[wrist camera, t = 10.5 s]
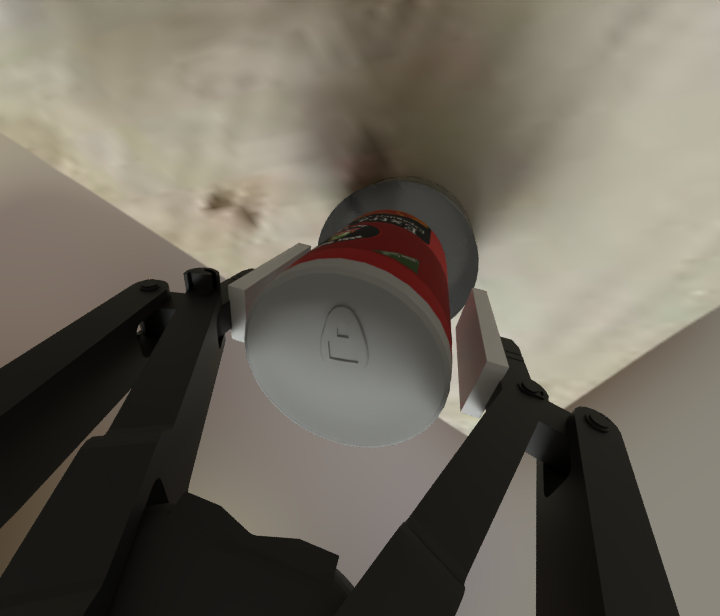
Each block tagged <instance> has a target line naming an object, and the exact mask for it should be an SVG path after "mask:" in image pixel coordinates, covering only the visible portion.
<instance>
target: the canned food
mask: <svg viewBox="0 0 720 616" xmlns="http://www.w3.org/2000/svg"><path fill="white" fill-rule="evenodd" d="M244 341H245V349H246V356H247V359H248V362H249V365H250V368H251V371H252V373H253V375H254V377H255V379H256V381H257V383H258V384H259V386H260V388H261V389H262V390H263V392H264V393H265V395H266V396H267V397H268V399H269V400H270V401H271V402H272V403H273V404H274V405H275V406H276V407H277V408H278V409H279V410H280V411H281V412H282V413H283V414H284V415H285V416H287V417H288V418H289V419H290V420H292V421H293V422H294V423H296V424H297V425H299V426H301V427H302V428H304V429H306V430H307V431H309V432H311V433H313V434H315V435H317V436H320V437H322V438H324V439H327V440H330V441H333V442H337V443H340V444H344V445H350V446H356V447H383V446H389V445H395V444H398V443H401V442H404V441H407V440H409V439H411V438H413V437H414V436H416V435H418V434H420V433H422V432H423V431H424V430H425V429H426V428H428V427H429V426H430V425H431V424H432V423H433V422H434V421H435V420H436V418H437V417H438V415H439V414H440V412H441V411H442V409H443V408H444V406H445V403H446V400H447V397H448V394H449V391H450V381H451V374H452V335H451V320H450V306H449V291H448V276H447V264H446V258H445V253H444V250H443V248H442V245H441V243H440V241H439V239H438V238H437V236H436V235H435V233H434V232H433V231H432V230H431V229H430V228H429V227H428V226H427V225H426V224H425V223H424V222H423V221H421V220H420V219H418V218H416V217H415V216H413V215H410V214H408V213H405V212H403V211H397V210H391V209H387V210H376V211H372V212H369V213H366V214H364V215H362V216H360V217H358V218H356V219H355V220H353V221H352V222H350V223H349V224H348V225H346V226H345V227H343V228H342V229H341V230H339V231H338V232H336V233H335V234H333V235H332V236H331V237H329V238H328V239H326V240H325V241H324V242H322V243H321V244H319V245H318V246H317V247H315V248H314V249H312V250H311V251H310V252H308V253H307V254H305V255H304V256H302V257H301V258H300V259H298V260H297V261H295V262H294V263H293V264H292V265H291V266H290V267H288V268H287V269H286V270H284V271H283V272H281V273H280V274H279V275H278V276H277V277H276V278H275V279H274V280H272V281H271V282H270V283H269V284H268V285H267V286H266V288H265V289H264V290H263V291H262V292H260V294H259V295H258V297H257V298H256V300H255V301H254V303H253V305H252V306H251V308H250V311H249V314H248V317H247V320H246V324H245V336H244Z"/></svg>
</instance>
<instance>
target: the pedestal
mask: <svg viewBox="0 0 720 616" xmlns="http://www.w3.org/2000/svg"><path fill="white" fill-rule="evenodd" d="M387 209H391V210H397V211H403V212H405V213H408V214H410V215H413V216H415V217H416V218H418V219H420V220H421V221H423V222H424V223H425V224H426V225H427V226H428V227H429V228H430V229H431V230H432V231H433V232H434V233H435V235H436V236H437V238H438V239H439V241H440V243H441V245H442V248H443V250H444V253H445V258H446V264H447V276H448V291H449V306H450V320H451V319H452V318H453V317H454V316H456V315H457V313H458V312H459V311H460V310H461V309H462V308H463V307H464V305H465V304H466V302H467V299H468V297H469V294H470V292H471V289H472V288H474V286H475V283H476V279H477V273H478V250H477V245H476V241H475V238H474V235H473V232H472V229H471V226H470V223H469V220H468V218H467V216H466V214H465V211H464V210H463V208H462V207H461V205H460V203H459V202H458V201H457V200H456V199H455V198H454V196H452V195H451V194H450V193H449V192H448V191H447V190H445V189H444V188H442V187H441V186H439V185H438V184H435V183H433V182H431V181H429V180H425V179H422V178H417V177H395V178H389V179H386V180H383V181H380V182H377V183H375V184H372V185H370V186H367V187H365V188H362V189H360V190H358V191H356V192H354V193H353V194H351V195H350V196H348V197H347V198H345V199H344V200H343V201H342V202H341V203H340V204H339V205H338V206H337V207H336V208H335V209H334V210H333V211H332V213H331V214H330V216H329V217H328V219H327V220H326V222H325V224H324V226H323V229H322V231H321V234H320V238H319V241H318V245H319V244H321V243H322V242H324V241H325V240H326V239H328V238H329V237H331V236H332V235H333V234H335V233H336V232H338V231H339V230H341V229H342V228H343V227H345V226H346V225H348V224H349V223H350V222H352V221H353V220H355V219H356V218H358V217H360V216H362V215H364V214H366V213H369V212H372V211H376V210H387Z"/></svg>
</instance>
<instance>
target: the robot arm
mask: <svg viewBox="0 0 720 616" xmlns="http://www.w3.org/2000/svg"><path fill="white" fill-rule="evenodd" d="M310 251H311V246H309V245H305V244H302V243H298V244H296V245H295V246H293V247H291V248H290V249H288V250H286V251H285V252H283V253H281V254H280V255H278V256H276V257H275V258H273V259H271V260H270V261H268V262H266V263H265V264H263V265H261V266H259V267H258V268H256V269H253V268H251V269H248V270H244V271H241V272H240V273H238V274H236V275H234V276H232V277H231V278H229V279H227V280H225V281H224V282H222V283H220V276H219V272H218V271H217V270H215V269H212V268H194V269H190V270H187V271H186V272H185V273H184V280H185V286H186V293H176V292H170V291H169V285H168V283H167V282H165V281H161V280H154V279H150V280H144V281H140V282H137V283H135V284H133V285H132V286H130V287H128V288H127V289H125V290H123V291H122V292H120V293H119V294H117V295H116V296H114V297H112V298H111V299H109V300H108V301H106V302H105V303H103V304H101V305H100V306H98V307H97V308H95V309H93V310H92V311H90V312H89V313H87V314H86V315H84V316H83V317H81V318H79V319H78V320H76V321H75V322H73V323H71V324H70V325H68V326H67V327H65V328H63V329H62V330H60V331H59V332H57V333H56V334H54V335H52V336H51V337H49V338H48V339H46V340H45V341H43V342H41V343H40V344H38V345H37V346H35V347H33V348H32V349H30V350H29V351H27V352H26V353H24V354H22V355H21V356H19V357H18V358H16V359H14V360H13V361H11V362H10V363H9V364H7V365H5V366H4V367H2V368H0V528H1V527H2V526H3V525H4V524H5V523H6V522H7V521H8V520H9V519H10V518H11V517H12V516H13V515H14V514H15V513H16V512H17V511H18V510H19V509H20V508H21V507H22V506H23V505H24V503H26V501H27V500H28V499H29V498H30V497H31V496H32V495H33V494H34V493H35V491H37V490H38V489H39V487H40V486H41V485H42V484H43V483H44V482H45V481H46V480H47V479H48V478H49V477H50V476H51V475H52V474H53V472H54V471H55V470H56V469H57V468H58V467H59V466H60V465H61V464H62V463H63V462H64V460H65V459H66V458H67V457H68V456H69V455H70V454H71V453H72V452H73V451H74V450H75V449H76V448H77V447H78V445H79V444H80V443H81V442H82V441H83V440H84V439H85V438H86V437H87V436H88V435H89V434H90V433H91V431H92V430H93V429H94V428H95V427H96V426H97V425H98V424H99V423H100V422H101V421H102V420H103V418H104V417H105V416H106V415H107V414H108V413H109V412H110V411H111V410H112V409H113V408H114V407H115V405H116V404H117V403H118V402H119V401H120V400H121V399H122V398H123V397H124V396H125V394H126V393H127V392H129V390H130V389H131V388H132V389H131V391H130V393H129V394H128V396H127V398H126V400H125V401H124V403H123V405H122V407H121V409H120V410H119V412H118V414H117V416H116V417H115V419H114V421H113V423H112V425H111V427H110V428H109V430H108V431H107V433H106V434H105V435H104V436H95V437H92V438H90V439H89V440H87V441H86V442H85V443H84V445H83V446H82V447H81V448H80V450H79V451H78V453H77V455H76V456H75V458H74V459H73V461H72V463H71V464H70V466H69V467H68V469H67V471H66V472H65V474H64V476H63V477H62V479H61V480H60V482H59V484H58V485H57V487H56V488H55V490H54V492H53V493H52V495H51V497H50V498H49V500H48V501H47V503H46V505H45V506H44V508H43V510H42V511H41V513H40V515H39V516H38V518H37V519H36V521H35V523H34V524H33V526H32V527H31V529H30V531H29V532H28V534H27V536H26V537H25V539H24V540H23V542H22V544H21V545H20V547H19V548H18V550H17V552H16V553H15V555H14V557H13V558H12V560H11V562H10V563H9V565H8V566H7V568H6V570H5V571H4V573H3V574H2V576H1V578H0V616H455V615H456V612H457V610H458V608H459V605H460V603H461V600H462V598H463V595H464V591H465V586H464V583H465V579H466V577H467V575H468V573H469V571H470V568H471V566H472V564H473V562H474V559H475V558H476V555H477V553H478V551H479V549H480V546H481V545H482V543H483V540H484V538H485V536H486V534H487V532H488V530H489V528H490V525H491V523H492V521H493V519H494V517H495V515H496V512H497V510H498V508H499V506H500V504H501V502H502V500H503V497H504V495H505V493H506V491H507V489H508V487H509V484H510V482H511V480H512V478H513V476H514V473H515V472H516V469H517V467H518V465H519V463H520V461H521V459H522V457H523V454H524V452H526V453H528V454H530V455H532V456H533V457H535V458H537V481H536V485H537V487H536V489H537V490H536V499H537V501H536V503H537V504H536V509H537V510H536V515H537V516H536V616H679V613H678V610H677V606H676V603H675V600H674V597H673V594H672V591H671V588H670V585H669V582H668V578H667V575H666V572H665V569H664V566H663V563H662V560H661V556H660V554H659V550H658V547H657V544H656V541H655V538H654V535H653V532H652V528H651V525H650V522H649V519H648V516H647V513H646V510H645V507H644V504H643V500H642V498H641V494H640V491H639V488H638V485H637V482H636V479H635V476H634V472H633V470H632V466H631V463H630V460H629V457H628V454H627V451H626V448H625V445H624V441H623V439H622V435H621V433H620V431H619V429H618V428H617V426H616V425H615V424H614V423H613V422H612V421H611V420H610V419H608V418H607V417H605V415H603V414H602V413H599V412H597V411H595V410H593V409H590V408H587V407H577V408H575V410H574V411H573V412H572V413H570V412H568V411H566V410H564V409H562V408H560V407H558V406H556V405H554V404H553V403H551V402H549V401H548V398H549V396H548V394H547V392H546V391H545V390H544V389H543V388H542V387H541V386H540V385H539V384H537V383H536V382H535V381H533V380H531V378H530V375H529V373H528V370H527V368H526V365H525V363H524V360H523V357H522V354H521V352H520V349H519V347H518V346H517V345H516V344H515V343H514V342H513V341H512V340H511V339H507V338H503V337H500V335H499V332H498V329H497V325H496V322H495V319H494V315H493V312H492V308H491V305H490V302H489V298H488V295H487V292H486V291H484V290H480V289H476V288H472V289H471V292H470V294H469V297H468V299H467V302H466V304H465V306H464V309H463V311H462V314H461V316H460V319H459V321H458V323H457V326H456V342H457V359H458V377H459V394H460V412H461V413H464V414H468V415H471V416H474V417H477V418H480V417H481V415H482V413H483V412H484V410H485V409H486V412H485V414H484V415H483V417H482V418H481V419H480V421H479V422H478V423H477V425H476V426H475V427H474V429H473V430H472V432H471V433H470V434H469V436H468V437H467V439H466V440H465V441H464V443H463V444H462V445H461V447H460V448H459V450H458V451H457V452H456V454H455V455H454V456H453V458H452V459H451V461H450V462H449V463H448V465H447V466H446V468H445V469H444V470H443V471H442V473H441V474H440V476H439V477H438V478H437V480H436V481H435V482H434V484H433V485H432V487H431V488H430V489H429V491H428V492H427V493H426V495H425V496H424V498H423V499H422V500H421V502H420V503H419V504H418V506H417V507H416V509H415V510H414V511H413V513H412V514H411V515H410V517H409V518H408V519H407V520H406V522H403V524H402V525H401V526H400V527H399V528H398V530H397V531H396V532H395V533H394V535H393V536H392V538H391V539H390V540H389V542H388V543H387V544H386V546H385V547H384V548H383V550H382V551H381V552H380V554H379V555H378V557H377V558H376V560H375V561H374V562H373V563H372V565H371V566H370V568H369V569H368V570H367V571H366V573H365V574H364V576H363V577H362V578H361V580H360V581H359V582H358V584H357V585H356V586H355V588H354V586H353V585H352V584H351V583H350V582H349V580H348V579H347V578H346V577H345V576H344V575H343V574H342V573H341V572H340V571H339V570H337V569H336V566H337V562H338V559H339V556H338V555H336V554H334V553H331V552H329V551H327V550H324V549H322V548H320V547H317V546H315V545H312V544H310V543H308V542H305V541H303V540H301V539H293V538H279V537H267V536H256V535H252V534H251V533H249V532H248V531H247V530H246V529H245V528H244V527H243V526H242V525H241V524H240V523H238V522H237V521H236V520H235V519H234V518H233V517H232V516H231V515H230V514H229V513H228V512H227V511H225V510H224V509H223V508H222V507H221V506H219V505H217V504H215V503H212V502H210V501H208V500H205V499H203V498H200V497H198V496H195V495H193V494H191V493H188V488H189V483H190V479H191V475H192V471H193V467H194V463H195V459H196V455H197V451H198V447H199V443H200V439H201V435H202V432H203V428H204V424H205V420H206V416H207V412H208V408H209V404H210V400H211V396H212V392H213V388H214V384H215V380H216V376H217V372H218V368H219V365H220V361H221V357H222V353H223V348H224V345H225V341H226V340H225V333H226V332H227V331H228V330H229V329H231V331H232V339H235V340H238V341H241V342H244V343H245V341H244V336H245V324H246V320H247V317H248V314H249V311H250V308H251V306H252V305H253V303H254V301H255V300H256V298H257V297H258V295H259V294H260V292H262V291H263V290H264V289H265V288H266V286H267V285H268V284H269V283H270V282H271V281H272V280H274V279H275V278H276V277H277V276H278V275H279V274H280V273H281V272H283V271H284V270H286V269H287V268H288V267H290V266H291V265H292V264H293V263H294V262H295V261H297V260H298V259H300V258H301V257H302V256H304V255H305V254H307V253H308V252H310ZM139 324H140V328H141V330H140V331H139V332H138V333H137V328H138V325H139Z"/></svg>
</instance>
